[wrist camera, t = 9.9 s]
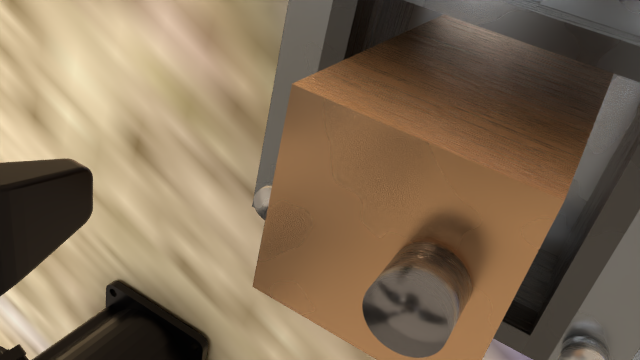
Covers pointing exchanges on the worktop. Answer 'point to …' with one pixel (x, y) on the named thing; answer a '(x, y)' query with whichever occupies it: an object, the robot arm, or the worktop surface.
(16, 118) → the worktop surface
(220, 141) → the worktop surface
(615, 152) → the drawer cabinet
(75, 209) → the robot arm
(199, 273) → the worktop surface
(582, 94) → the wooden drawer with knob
